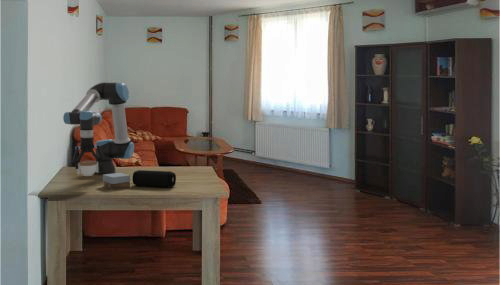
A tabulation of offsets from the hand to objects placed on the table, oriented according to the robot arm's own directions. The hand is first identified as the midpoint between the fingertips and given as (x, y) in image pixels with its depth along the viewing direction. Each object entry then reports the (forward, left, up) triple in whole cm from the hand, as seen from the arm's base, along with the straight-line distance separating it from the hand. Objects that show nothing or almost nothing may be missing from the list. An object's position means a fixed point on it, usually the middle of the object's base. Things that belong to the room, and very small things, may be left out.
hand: (87, 173), depth 347 cm
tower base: (+1, +18, -10) cm, 21 cm away
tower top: (+1, +18, -6) cm, 19 cm away
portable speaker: (+12, +38, -10) cm, 41 cm away
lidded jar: (0, 0, -1) cm, 1 cm away
